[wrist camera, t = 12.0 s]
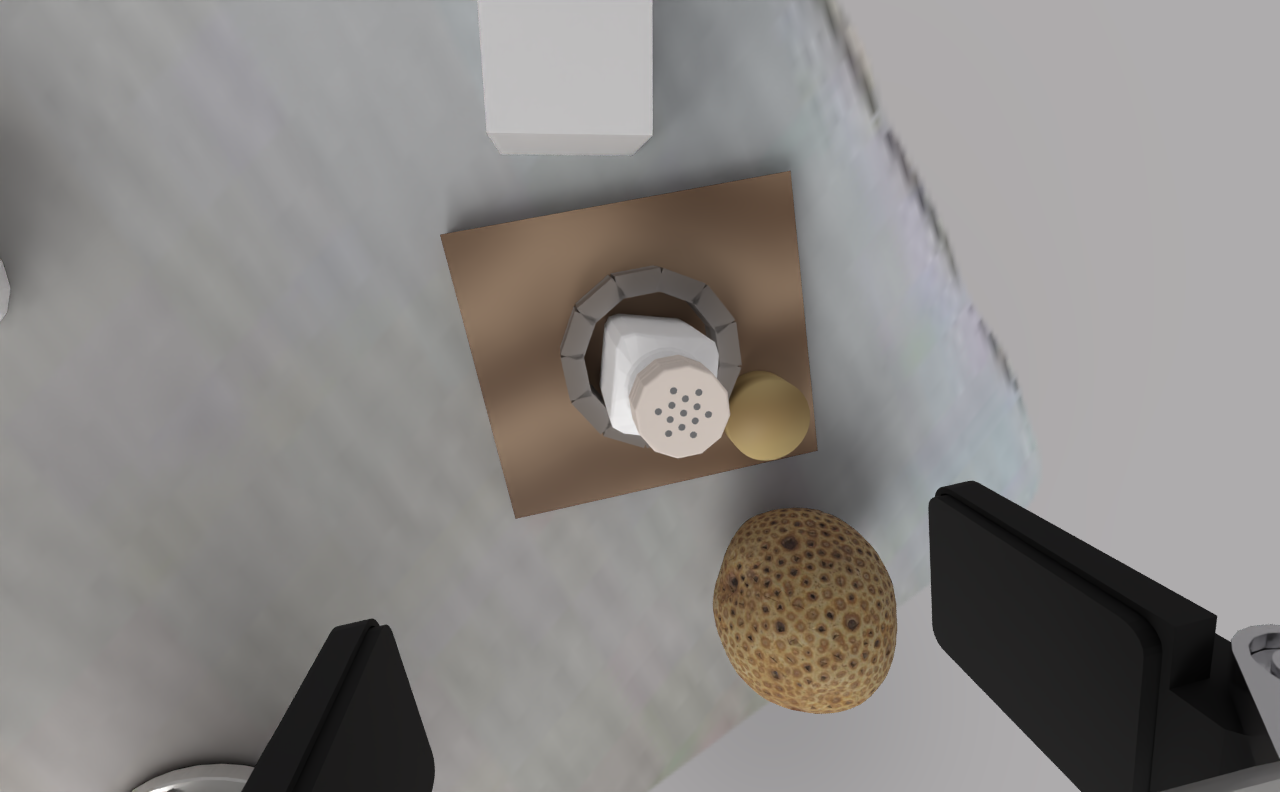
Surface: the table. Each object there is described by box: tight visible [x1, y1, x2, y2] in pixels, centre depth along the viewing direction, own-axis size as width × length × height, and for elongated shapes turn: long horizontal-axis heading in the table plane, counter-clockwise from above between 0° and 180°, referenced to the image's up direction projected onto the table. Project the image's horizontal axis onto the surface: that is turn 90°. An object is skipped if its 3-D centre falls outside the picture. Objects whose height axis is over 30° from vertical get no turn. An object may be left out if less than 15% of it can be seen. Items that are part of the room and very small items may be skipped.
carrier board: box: [440, 171, 818, 519], centre depth 28 cm, size 14×16×4 cm
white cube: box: [477, 0, 653, 156], centre depth 23 cm, size 6×6×6 cm
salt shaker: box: [599, 314, 730, 458], centre depth 24 cm, size 4×4×10 cm
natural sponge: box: [713, 508, 897, 714], centre depth 29 cm, size 9×9×10 cm
